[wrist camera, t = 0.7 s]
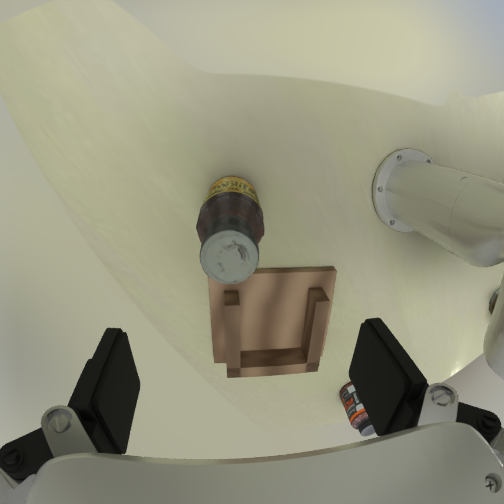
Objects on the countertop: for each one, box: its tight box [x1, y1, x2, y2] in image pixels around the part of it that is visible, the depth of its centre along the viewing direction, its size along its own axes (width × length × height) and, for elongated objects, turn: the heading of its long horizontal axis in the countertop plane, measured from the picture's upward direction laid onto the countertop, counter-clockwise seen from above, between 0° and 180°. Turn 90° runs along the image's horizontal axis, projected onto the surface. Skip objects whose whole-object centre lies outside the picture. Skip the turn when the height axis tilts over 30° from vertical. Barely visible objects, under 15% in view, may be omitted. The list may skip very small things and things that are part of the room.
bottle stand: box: [209, 267, 337, 378], centre depth 43 cm, size 18×16×6 cm
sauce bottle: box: [196, 176, 264, 284], centre depth 29 cm, size 7×6×20 cm
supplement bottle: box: [340, 382, 375, 436], centre depth 50 cm, size 6×6×11 cm
